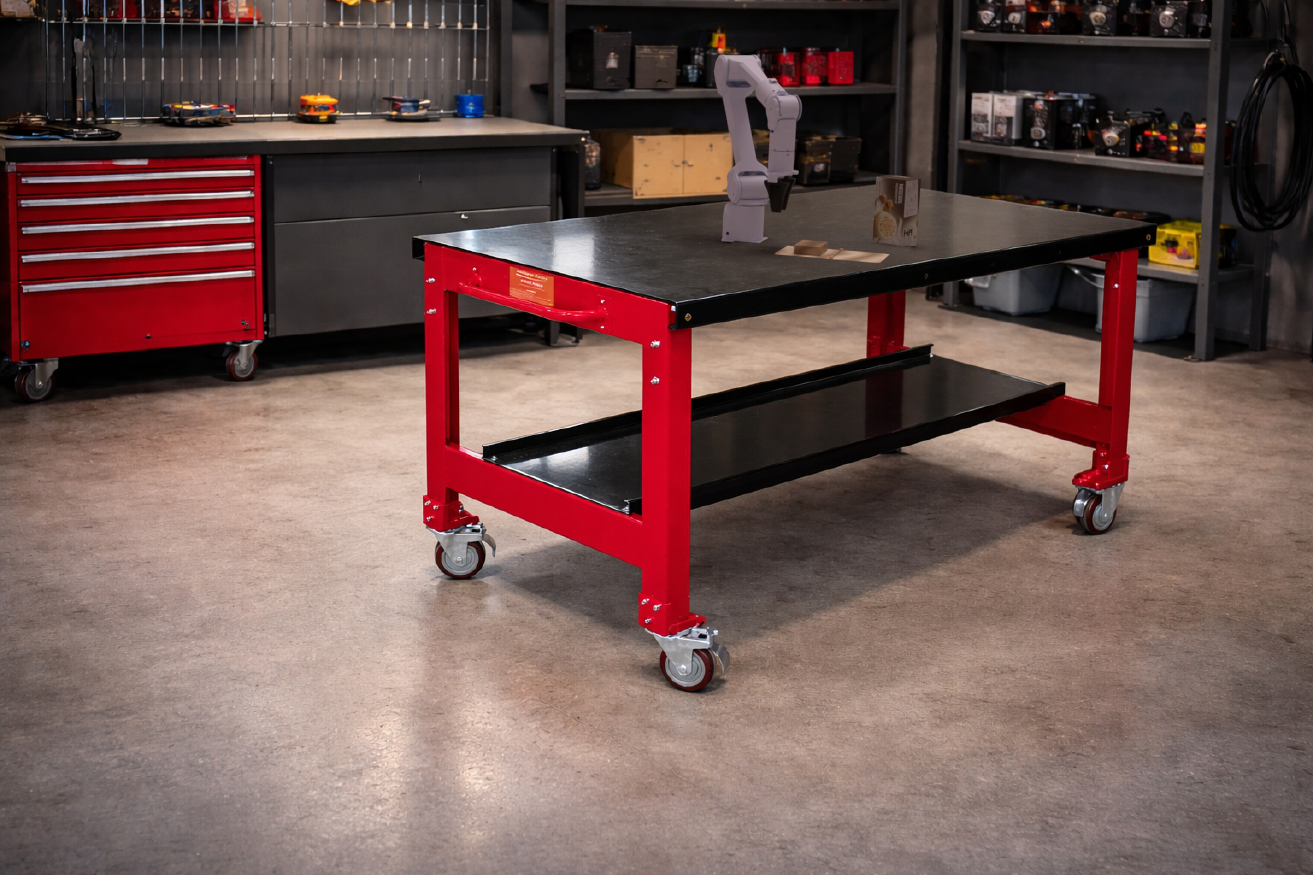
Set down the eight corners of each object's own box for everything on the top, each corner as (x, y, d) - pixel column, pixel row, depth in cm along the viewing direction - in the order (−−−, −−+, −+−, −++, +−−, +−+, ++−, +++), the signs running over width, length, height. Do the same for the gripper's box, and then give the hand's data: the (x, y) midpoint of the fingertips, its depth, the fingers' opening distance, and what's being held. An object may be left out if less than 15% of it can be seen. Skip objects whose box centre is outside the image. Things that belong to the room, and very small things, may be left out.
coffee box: (917, 246, 326) (923, 178, 321) (901, 248, 321) (907, 180, 316) (886, 240, 332) (891, 174, 327) (870, 243, 328) (875, 176, 323)
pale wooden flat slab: (773, 256, 307) (774, 252, 307) (787, 248, 318) (787, 244, 318) (879, 265, 300) (879, 261, 300) (889, 256, 311) (889, 252, 310)
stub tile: (793, 254, 308) (794, 245, 307) (801, 248, 315) (802, 239, 314) (819, 256, 306) (820, 247, 305) (827, 250, 313) (827, 241, 312)
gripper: (791, 154, 298) (787, 216, 302) (806, 148, 311) (803, 208, 315) (760, 152, 300) (757, 214, 305) (776, 146, 313) (773, 205, 318)
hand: (778, 211), depth 310 cm, fingers open, 4 cm apart
